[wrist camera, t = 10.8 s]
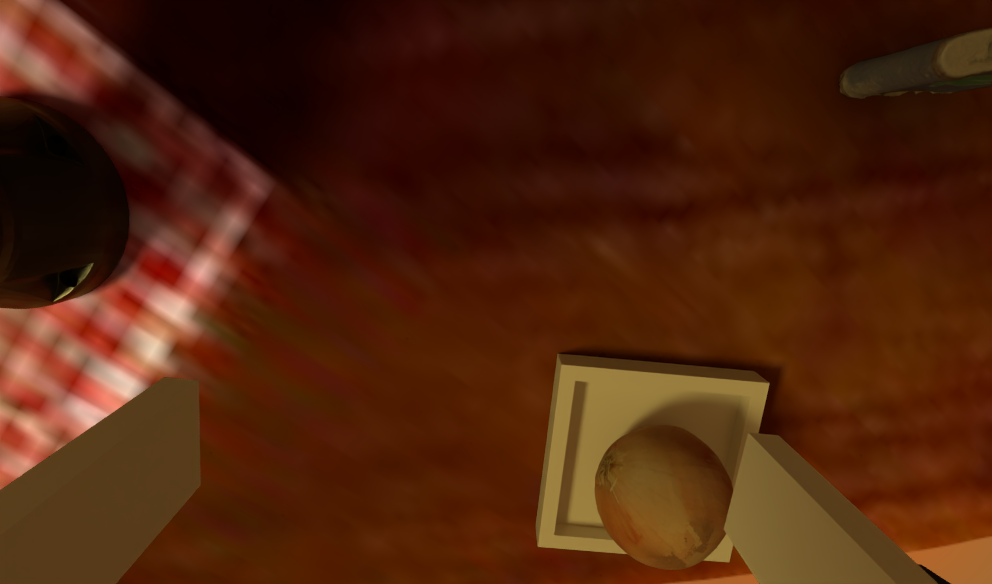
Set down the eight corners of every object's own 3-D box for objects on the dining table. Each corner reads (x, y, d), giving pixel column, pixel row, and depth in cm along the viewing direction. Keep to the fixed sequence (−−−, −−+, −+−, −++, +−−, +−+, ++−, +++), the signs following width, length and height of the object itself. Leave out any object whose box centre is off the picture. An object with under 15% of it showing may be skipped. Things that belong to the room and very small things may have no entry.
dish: (535, 526, 46) (537, 546, 44) (557, 353, 43) (561, 364, 40) (716, 541, 47) (729, 562, 44) (754, 371, 43) (769, 383, 40)
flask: (835, 100, 38) (963, 74, 28) (839, 57, 38) (972, 13, 27) (964, 94, 38) (1140, 66, 28) (970, 50, 38) (1154, 5, 27)
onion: (606, 388, 42) (640, 454, 32) (722, 422, 43) (789, 497, 33) (567, 491, 44) (586, 582, 35) (677, 522, 45) (728, 620, 35)
